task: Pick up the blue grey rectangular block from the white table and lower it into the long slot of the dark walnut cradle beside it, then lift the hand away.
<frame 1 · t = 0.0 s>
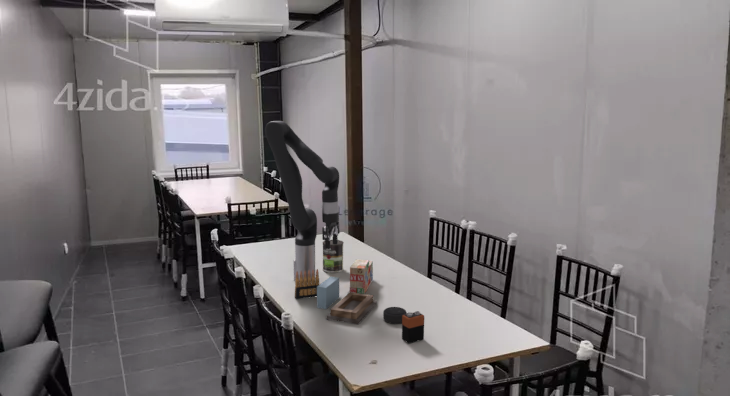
hand: (331, 246, 250), 17 cm above the table, tool pointing down, fingers open, 8 cm apart
coffee can: (333, 270, 273), on the table
cradle: (352, 311, 218), on the table
ammunition clip: (307, 297, 234), on the table
battery: (412, 340, 193), on the table
smart speaker: (394, 320, 210), on the table
stack of blocks: (361, 287, 248), on the table
blue grey rectangular block: (328, 302, 228), on the table
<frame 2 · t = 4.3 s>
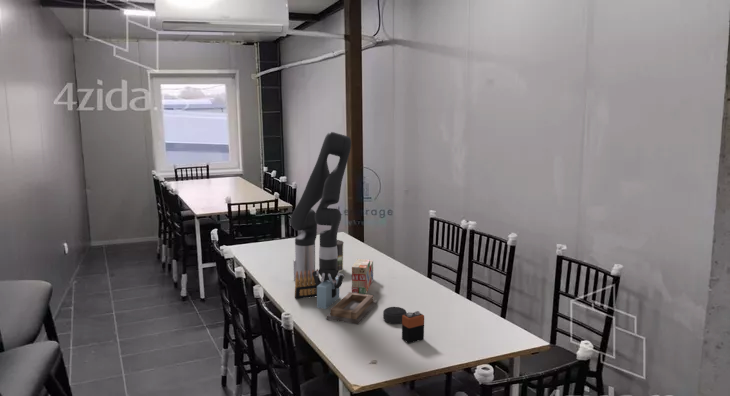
hand: (328, 296, 227), 3 cm above the table, tool pointing down, fingers closed on blue grey rectangular block, 4 cm apart
blue grey rectangular block: (328, 302, 228), on the table, touching gripper
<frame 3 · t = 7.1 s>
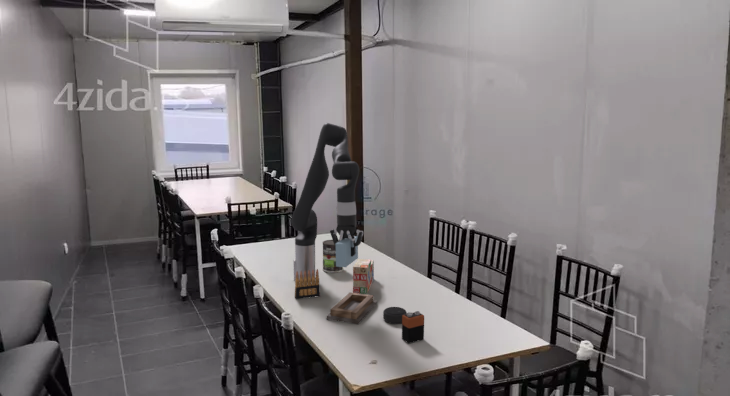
hand: (347, 255, 217), 22 cm above the table, tool pointing down, fingers closed on blue grey rectangular block, 4 cm apart
blue grey rectangular block: (347, 262, 217), point 20 cm above the table, touching gripper
when the fingers open (5 cm above the table, at t = 10.2 s): blue grey rectangular block stays where it is, resting on cradle.
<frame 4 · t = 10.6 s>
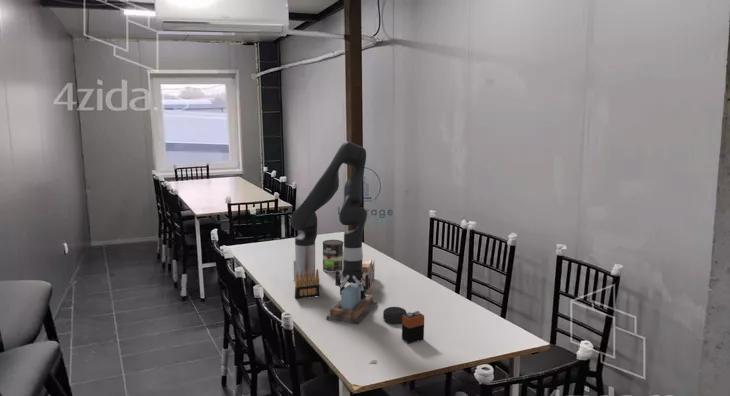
hand: (352, 297, 217), 6 cm above the table, tool pointing down, fingers open, 7 cm apart
blue grey rectangular block: (352, 308, 218), point 1 cm above the table, touching cradle
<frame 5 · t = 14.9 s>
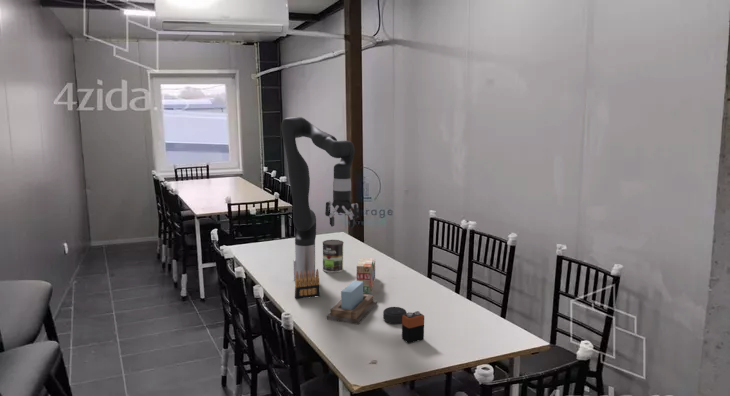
hand: (342, 227, 231), 30 cm above the table, tool pointing down, fingers open, 8 cm apart
at the end: blue grey rectangular block 0.1 cm off-centre on the cradle, point 1.5 cm above the cradle's base; blue grey rectangular block tilted 0°; the gripper is holding nothing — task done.
